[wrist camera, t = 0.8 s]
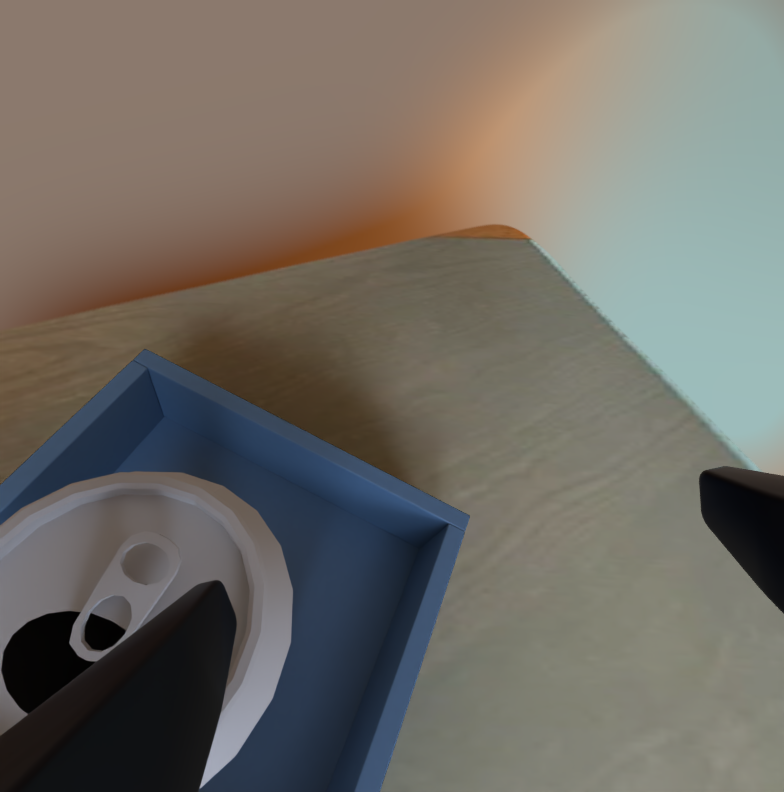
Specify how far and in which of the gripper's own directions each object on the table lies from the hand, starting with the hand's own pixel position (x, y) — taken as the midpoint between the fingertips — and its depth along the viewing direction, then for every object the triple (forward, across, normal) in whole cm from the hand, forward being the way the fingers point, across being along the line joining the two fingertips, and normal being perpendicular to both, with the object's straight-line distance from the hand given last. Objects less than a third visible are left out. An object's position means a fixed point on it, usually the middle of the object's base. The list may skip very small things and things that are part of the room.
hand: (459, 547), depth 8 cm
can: (+8, +12, +8) cm, 16 cm away
